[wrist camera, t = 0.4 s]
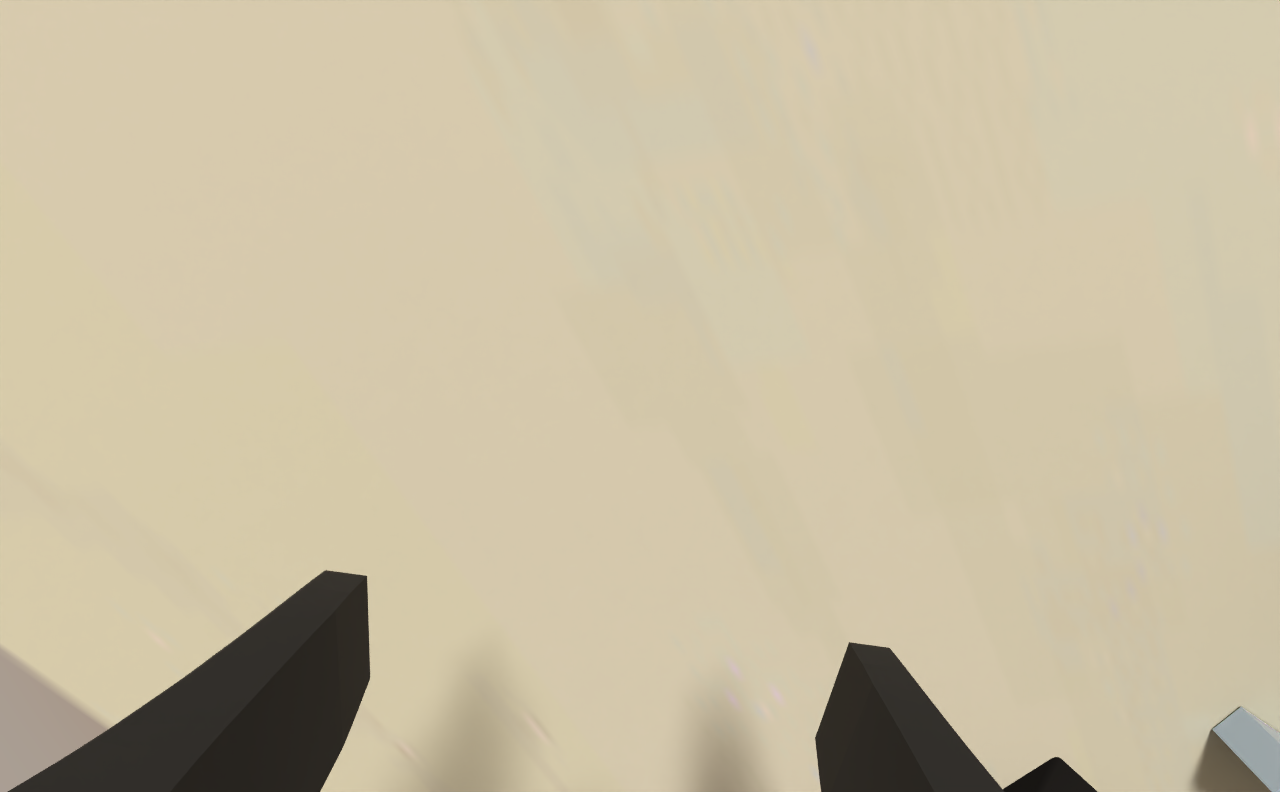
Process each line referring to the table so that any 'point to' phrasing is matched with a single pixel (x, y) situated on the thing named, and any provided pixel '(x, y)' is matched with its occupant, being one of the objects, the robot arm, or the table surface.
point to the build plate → (1051, 779)
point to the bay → (1253, 745)
